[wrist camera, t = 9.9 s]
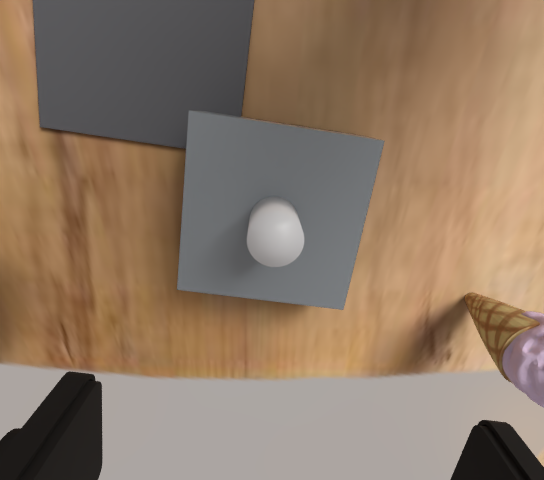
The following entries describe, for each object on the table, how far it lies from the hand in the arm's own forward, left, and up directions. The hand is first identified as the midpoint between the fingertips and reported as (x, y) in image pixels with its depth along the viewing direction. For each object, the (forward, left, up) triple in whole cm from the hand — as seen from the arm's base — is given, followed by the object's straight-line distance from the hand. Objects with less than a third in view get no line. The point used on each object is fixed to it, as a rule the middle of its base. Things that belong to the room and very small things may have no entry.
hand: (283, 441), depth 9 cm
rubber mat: (+13, -13, -28) cm, 33 cm away
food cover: (0, 0, -28) cm, 28 cm away
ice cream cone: (-23, +7, -28) cm, 37 cm away
